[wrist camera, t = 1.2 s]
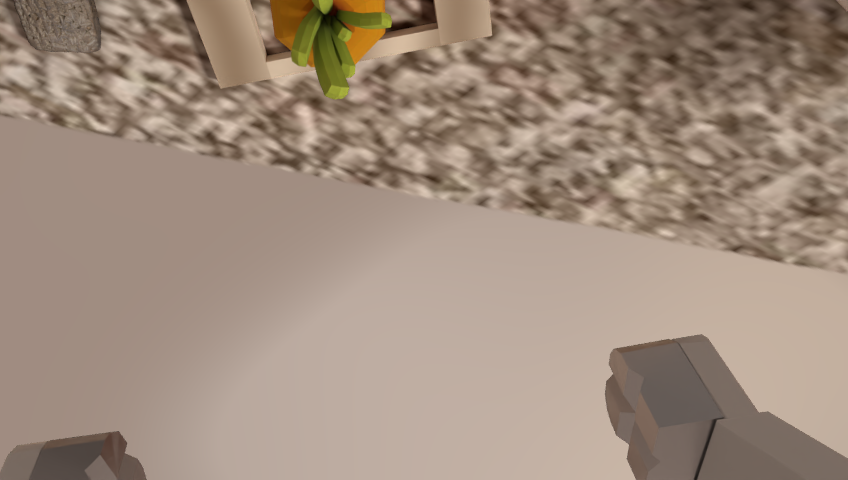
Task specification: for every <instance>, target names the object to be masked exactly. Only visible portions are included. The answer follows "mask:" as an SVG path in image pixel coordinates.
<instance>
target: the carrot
mask: <svg viewBox="0 0 848 480" xmlns="http://www.w3.org/2000/svg"><path fill="white" fill-rule="evenodd" d="M270 4H271V11H272V19H273V27H274V34H275V37H276V38H277V39H278V40H279V41H280V42H282V43H283V44H284V45H285V46H286V47H288V48H289V49H290V50H291V59H292V62H294V63H295V64H296V65H298V66H302V67H306V66H307V64H308V65H309V66H310V67H315V69H316V72H317V76H318V79H319V82H320V85H321V87H322V90H323V92H324V95H325V96H326V97H329V98H332V99H342V98H344V97H345V96H346V95H347V94H348V90H349V86H348V83H347V80H346V78H349V77H352V76H353V75H354V74H355V64H356V63H357V62H358V61H359V60H360V59H361V58H362V57H363V56H364V55H365V54H366V53H367V52H368V51H369V50H370V49H371V48H372V47H373V46H374V45H375V44H376V42H377V41H378V40H379V39H380V38H381V37H382V36H383V35H384V34H385V28H391V24H392V20H391V16H390V15H389V14H387V13H385V0H270Z"/></svg>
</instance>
